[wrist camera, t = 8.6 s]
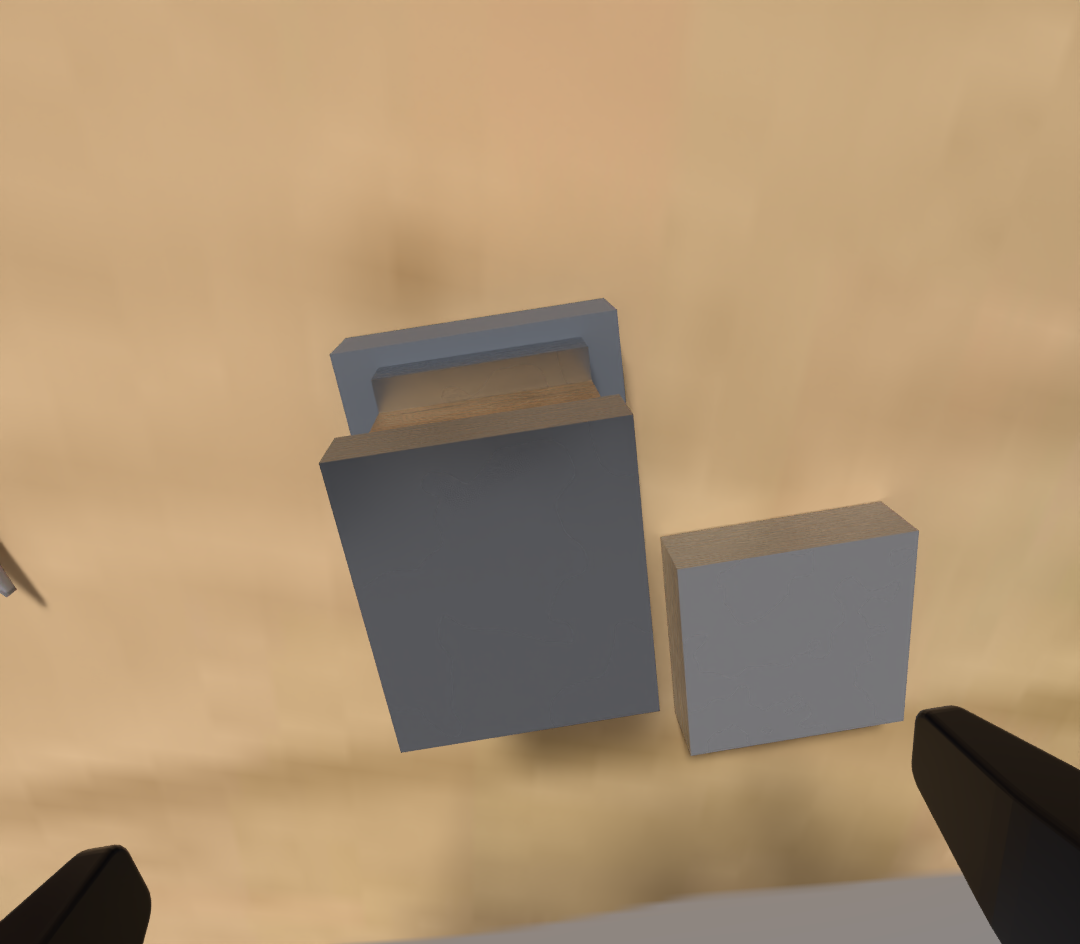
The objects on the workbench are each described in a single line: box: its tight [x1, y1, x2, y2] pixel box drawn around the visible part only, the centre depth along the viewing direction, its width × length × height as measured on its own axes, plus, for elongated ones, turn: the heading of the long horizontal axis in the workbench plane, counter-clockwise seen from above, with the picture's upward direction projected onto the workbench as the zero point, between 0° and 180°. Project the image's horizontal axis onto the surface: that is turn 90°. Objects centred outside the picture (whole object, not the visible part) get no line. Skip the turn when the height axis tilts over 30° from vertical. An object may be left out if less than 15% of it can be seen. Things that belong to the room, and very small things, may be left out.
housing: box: [319, 337, 660, 753], centre depth 15 cm, size 6×5×6 cm
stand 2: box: [661, 502, 919, 756], centre depth 22 cm, size 7×7×2 cm
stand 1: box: [330, 298, 626, 435], centre depth 19 cm, size 7×7×2 cm
